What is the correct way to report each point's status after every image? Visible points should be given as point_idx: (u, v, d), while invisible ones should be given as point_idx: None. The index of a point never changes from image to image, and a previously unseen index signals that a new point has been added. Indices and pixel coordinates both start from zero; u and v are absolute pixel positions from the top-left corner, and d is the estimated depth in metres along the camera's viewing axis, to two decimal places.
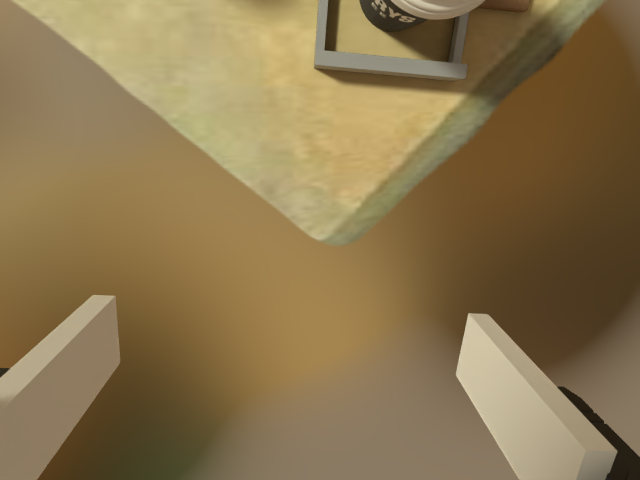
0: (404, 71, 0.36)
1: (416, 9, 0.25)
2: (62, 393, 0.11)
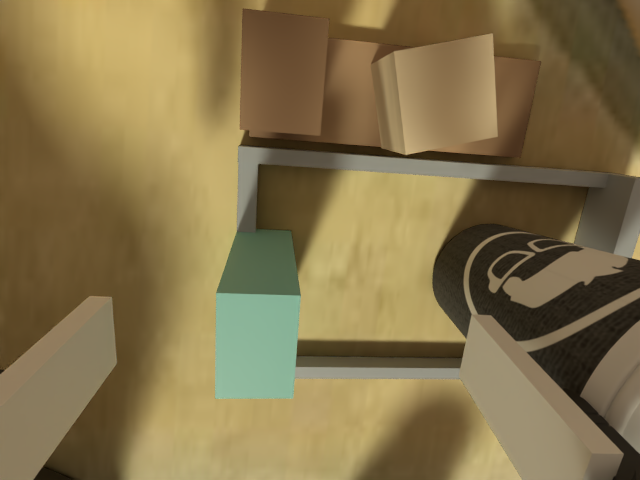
0: None
1: None
2: (57, 395, 0.11)
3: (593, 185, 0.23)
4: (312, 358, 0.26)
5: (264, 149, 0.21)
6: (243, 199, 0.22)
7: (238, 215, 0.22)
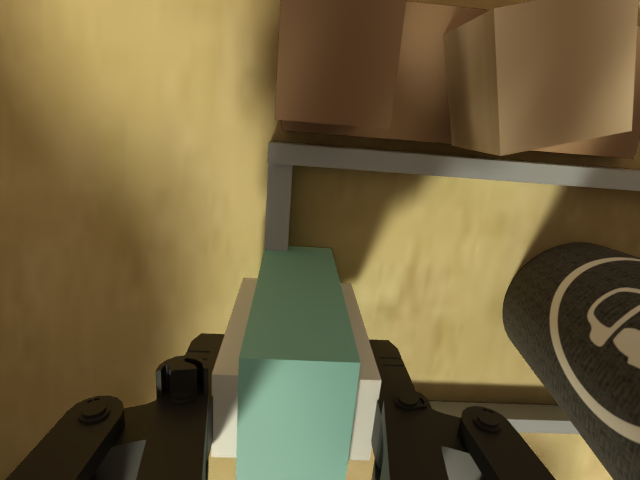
0: None
1: None
2: None
3: None
4: None
5: (301, 146, 0.16)
6: (273, 210, 0.17)
7: (267, 229, 0.17)
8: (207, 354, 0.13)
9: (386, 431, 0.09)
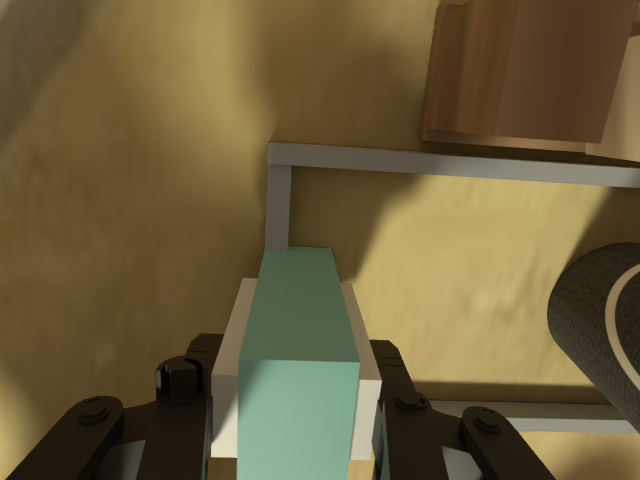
0: None
1: None
2: None
3: None
4: None
5: (300, 147, 0.16)
6: (273, 210, 0.17)
7: (266, 230, 0.17)
8: (207, 354, 0.13)
9: (386, 431, 0.09)
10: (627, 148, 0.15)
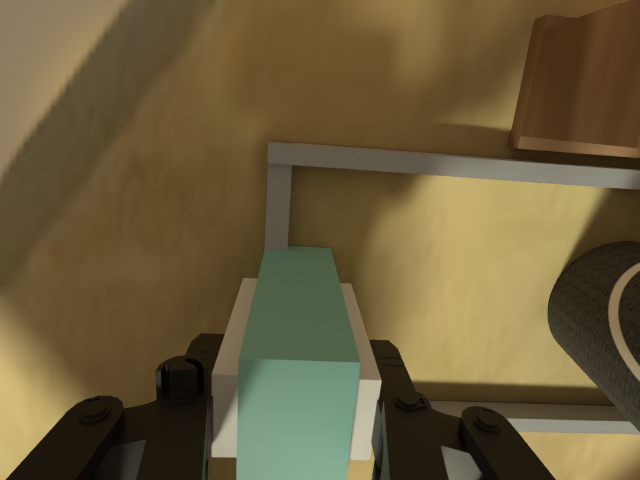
0: None
1: None
2: None
3: None
4: None
5: (301, 146, 0.16)
6: (273, 210, 0.17)
7: (266, 229, 0.17)
8: (207, 354, 0.13)
9: (386, 431, 0.09)
10: None
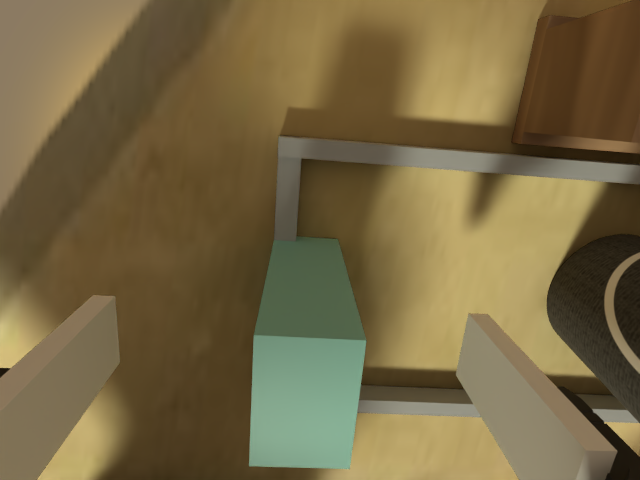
0: None
1: None
2: (62, 393, 0.11)
3: None
4: None
5: (310, 140, 0.17)
6: (282, 201, 0.18)
7: (276, 220, 0.18)
8: None
9: None
10: None
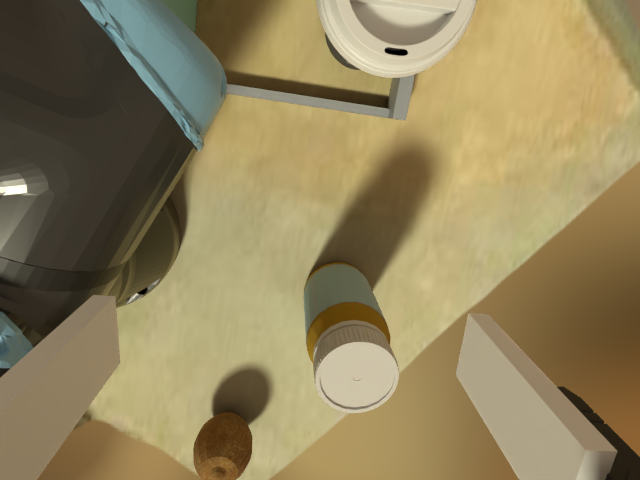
0: None
1: (466, 26, 0.24)
2: (62, 393, 0.11)
3: None
4: None
5: None
6: None
7: None
8: None
9: None
10: None
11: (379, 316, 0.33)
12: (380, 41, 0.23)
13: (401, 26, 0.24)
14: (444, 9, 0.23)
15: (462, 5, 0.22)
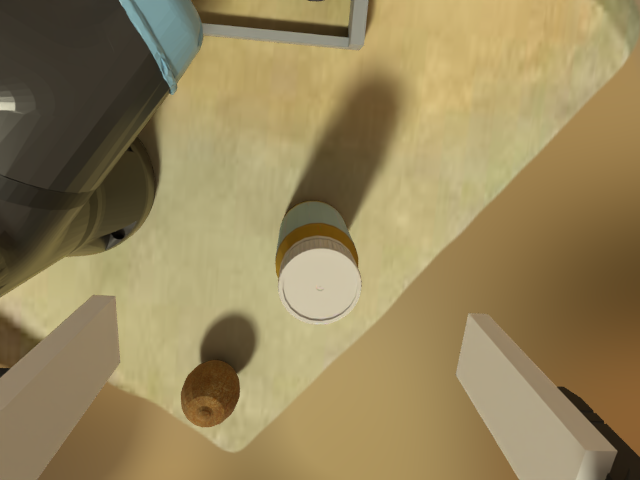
0: None
1: None
2: (62, 393, 0.11)
3: None
4: None
5: None
6: None
7: None
8: None
9: None
10: None
11: (345, 235, 0.33)
12: None
13: None
14: None
15: None
